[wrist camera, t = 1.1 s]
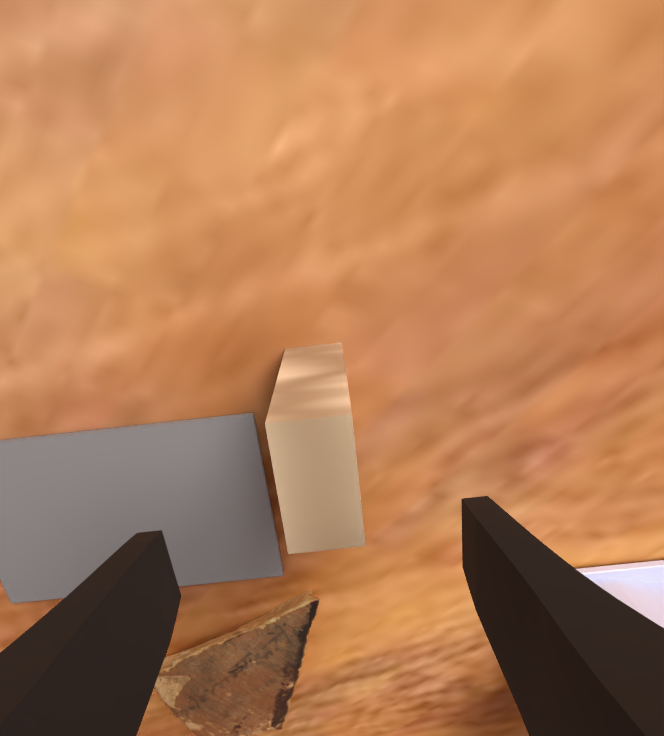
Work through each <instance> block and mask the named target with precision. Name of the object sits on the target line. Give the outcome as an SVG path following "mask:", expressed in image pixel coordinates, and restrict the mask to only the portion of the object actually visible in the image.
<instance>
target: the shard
mask: <svg viewBox="0 0 664 736" xmlns="http://www.w3.org/2000/svg"><path fill="white" fill-rule="evenodd" d="M318 605H319V598H316V597H314V596H312V589H309V590H307V591H305V592H304V593H303V594H301V595H298V596H296V597H294V598H292V599H290V600H288V601H286V602H284V603H283V604H281V605H280V606H278V607H276V608H275V609H273V610H271V611H270V612H268V613H266V614H265V615H263V616H260V617H259V618H256V619H254V620H251V621H250V622H249V623H247V624H243V625H241V626H240V627H239V628H237V629H236V630H235V631H232V632H229V633H226V634H224V635H222V636H219V637H217V638H215V639H211V640H208V641H207V642H205V643H202V644H200V645H197V646H195V647H193V648H190V649H186V650H183V651H181V652H179V653H176V654H173V655H169V656H167V657H165V658H164V661H163V664H162V666H161V669H160V672H159V675H158V677H157V680H156V683H155V687H156V689H157V690H158V692H159V694H160V696H161V698H162V700H163V702H164V703H165V704H166V706H168V707H169V708H170V709H171V711H172V712H173V713H174V714H175V715H176V717H178V718H180V719H181V720H182V721H183V723H184V724H186V725H187V727H188V728H189V729H190V730H191V731H192V732H194V733H195V734H196V735H197V736H249V735H253V734H257V733H259V732H262V731H267V730H269V729H282V728H283V726H284V724H285V719H286V715H287V713H288V709H289V706H290V700H291V697H292V696H293V692H294V688H295V685H296V682H297V680H298V677H299V674H300V671H301V667H302V664H303V659H304V656H305V652H306V649H307V642H308V633H309V630H310V627H311V624H312V621H313V619H314V618H315V616H316V614H317V608H318Z"/></svg>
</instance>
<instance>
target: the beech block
mask: <svg viewBox="0 0 664 736" xmlns="http://www.w3.org/2000/svg"><path fill="white" fill-rule="evenodd" d="M265 427H266V433H267V439H268V444H269V450H270V455H271V461H272V466H273V472H274V478H275V483H276V489H277V494H278V500H279V505H280V511H281V517H282V522H283V528H284V533H285V539H286V544H287V550H288V554H296V553H305V552H315V551H325V550H334V549H344V548H354V547H364V546H366V544H365V534H364V525H363V515H362V506H361V496H360V487H359V477H358V468H357V458H356V449H355V439H354V430H353V420H352V412H351V405H350V398H349V390H348V383H347V376H346V369H345V362H344V355H343V348H342V342H341V343H332V344H323V345H314V346H305V347H296V348H287V349H285V351H284V355H283V359H282V362H281V366H280V370H279V373H278V377H277V381H276V384H275V388H274V392H273V395H272V399H271V403H270V406H269V410H268V414H267V417H266V421H265Z"/></svg>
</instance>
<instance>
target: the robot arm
mask: <svg viewBox="0 0 664 736" xmlns="http://www.w3.org/2000/svg"><path fill="white" fill-rule="evenodd" d="M462 554H463V570H464V573H465V576H466V580H467V583H468V586H469V590H470V593H471V596H472V599H473V602H474V605H475V609H476V611H477V614H478V616H479V618H480V621H481V623H482V626H483V628H484V630H485V633H486V635H487V637H488V640H489V642H490V644H491V646H492V649H493V651H494V653H495V656H496V658H497V660H498V663H499V665H500V667H501V669H502V672H503V674H504V676H505V679H506V681H507V683H508V686H509V688H510V690H511V692H512V695H513V697H514V699H515V702H516V704H517V706H518V709H519V711H520V713H521V716H522V718H523V721H524V723H525V726H526V728H527V731H528V733H529V736H664V560H659V561H649V562H639V563H629V564H619V565H609V566H599V567H589V568H579V569H575V568H573V567H572V566H571V565H570V564H568V563H567V562H566V561H564V560H563V559H562V558H561V557H559V556H558V555H557V554H556V553H554V552H553V551H552V550H551V549H549V548H548V547H547V546H546V545H544V544H543V543H542V542H541V541H539V540H538V539H537V538H536V537H535V536H533V535H532V534H531V533H530V532H529V531H528V530H526V529H525V528H524V527H523V526H522V525H520V524H519V523H518V522H517V521H516V520H515V519H514V518H512V517H511V516H510V515H509V514H508V513H507V512H505V511H504V510H503V509H502V508H501V507H500V506H499V505H497V504H496V503H495V502H494V501H493V500H492V499H490V498H489V497H488V496H484V497H474V498H464V499H462ZM180 599H181V593H180V590H179V587H178V583H177V580H176V576H175V573H174V570H173V566H172V563H171V559H170V556H169V553H168V549H167V546H166V542H165V539H164V536H163V532H162V530H159V531H149V532H140V533H136V534H135V535H134V536H133V537H131V538H130V539H129V540H128V541H127V542H126V543H124V544H123V545H122V546H121V547H120V548H119V549H118V550H117V551H116V552H114V553H113V554H112V555H111V556H110V557H109V558H108V559H107V560H106V561H105V562H104V563H103V564H101V565H100V566H99V567H98V568H97V569H96V570H95V571H94V572H93V573H92V574H91V575H90V576H88V577H87V578H86V579H85V580H84V581H83V582H82V583H81V584H80V585H79V586H77V587H76V588H75V589H74V590H73V591H72V592H71V593H70V594H69V595H68V596H66V597H65V598H64V599H63V600H62V601H61V602H60V603H59V604H58V605H56V606H55V607H54V608H53V609H52V610H51V611H49V612H48V613H47V614H46V615H45V616H43V617H42V618H41V619H40V620H39V621H38V622H36V623H35V624H34V625H33V626H32V627H31V628H29V629H28V630H27V631H26V632H25V633H24V634H22V635H21V636H20V637H19V638H18V639H17V640H15V641H14V642H13V643H12V644H11V645H9V646H8V647H7V648H6V649H4V650H3V651H2V652H1V653H0V736H136V735H137V732H138V729H139V726H140V724H141V721H142V718H143V716H144V713H145V710H146V707H147V705H148V702H149V699H150V697H151V694H152V691H153V688H154V686H155V683H156V680H157V677H158V675H159V672H160V669H161V666H162V664H163V661H164V658H165V655H166V652H167V649H168V647H169V644H170V641H171V637H172V633H173V629H174V625H175V621H176V617H177V612H178V608H179V603H180Z"/></svg>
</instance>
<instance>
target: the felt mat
mask: <svg viewBox="0 0 664 736" xmlns="http://www.w3.org/2000/svg"><path fill="white" fill-rule="evenodd" d="M159 530H162V532H163V536H164V539H165V542H166V546H167V549H168V553H169V556H170V559H171V563H172V566H173V570H174V573H175V576H176V580H177V583H178V586H188V585H198V584H208V583H218V582H228V581H238V580H248V579H257V578H267V577H277V576H283V572H284V571H283V566H282V560H281V555H280V550H279V544H278V539H277V534H276V528H275V523H274V518H273V512H272V507H271V502H270V496H269V491H268V486H267V480H266V475H265V469H264V464H263V459H262V453H261V448H260V443H259V437H258V432H257V427H256V421H255V416H254V413H244V414H235V415H226V416H217V417H208V418H198V419H189V420H180V421H171V422H162V423H152V424H143V425H134V426H125V427H116V428H106V429H97V430H88V431H79V432H70V433H60V434H51V435H42V436H33V437H24V438H14V439H5V440H0V580H1V582H2V584H3V587H4V589H5V591H6V593H7V595H8V597H9V599H10V602H11V603H20V602H30V601H40V600H50V599H60V598H65V597H66V596H68V595H69V594H70V593H71V592H72V591H73V590H74V589H75V588H76V587H77V586H79V585H80V584H81V583H82V582H83V581H84V580H85V579H86V578H87V577H88V576H90V575H91V574H92V573H93V572H94V571H95V570H96V569H97V568H98V567H99V566H100V565H101V564H103V563H104V562H105V561H106V560H107V559H108V558H109V557H110V556H111V555H112V554H113V553H114V552H116V551H117V550H118V549H119V548H120V547H121V546H122V545H123V544H124V543H126V542H127V541H128V540H129V539H130V538H131V537H133V536H134V535H135V534H136V533H140V532H149V531H159Z"/></svg>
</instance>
